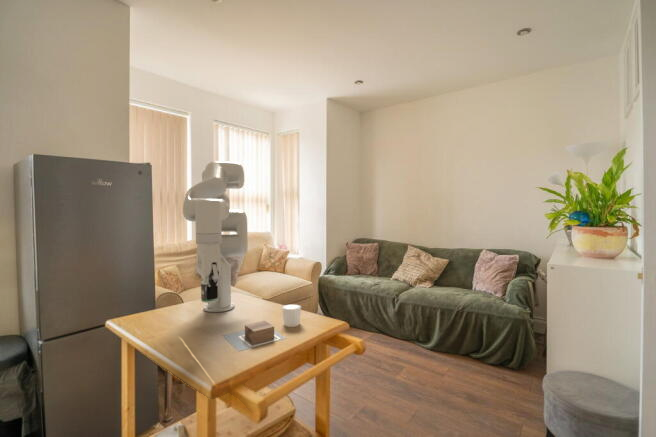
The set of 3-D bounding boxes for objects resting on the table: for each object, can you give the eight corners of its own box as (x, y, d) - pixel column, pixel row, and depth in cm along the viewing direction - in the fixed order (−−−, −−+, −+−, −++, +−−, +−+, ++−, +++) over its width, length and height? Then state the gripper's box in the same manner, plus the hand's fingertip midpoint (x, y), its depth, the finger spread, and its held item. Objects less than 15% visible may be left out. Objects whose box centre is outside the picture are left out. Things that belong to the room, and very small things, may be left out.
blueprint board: (221, 337, 105) (221, 335, 105) (266, 326, 114) (266, 324, 114) (239, 353, 93) (239, 350, 93) (286, 340, 102) (286, 337, 102)
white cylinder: (300, 329, 112) (300, 309, 112) (280, 329, 112) (280, 309, 112) (301, 322, 119) (301, 303, 119) (283, 322, 119) (283, 303, 119)
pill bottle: (202, 299, 101) (202, 272, 101) (218, 298, 102) (217, 272, 102) (200, 303, 96) (199, 276, 96) (216, 302, 98) (216, 275, 97)
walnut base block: (244, 337, 103) (244, 325, 103) (264, 332, 108) (264, 320, 107) (253, 344, 98) (253, 331, 98) (274, 338, 102) (274, 326, 102)
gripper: (188, 237, 103) (189, 292, 104) (204, 242, 89) (205, 306, 90) (212, 235, 108) (213, 289, 108) (230, 240, 94) (230, 301, 95)
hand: (209, 296), depth 99 cm, fingers closed on pill bottle, 4 cm apart
